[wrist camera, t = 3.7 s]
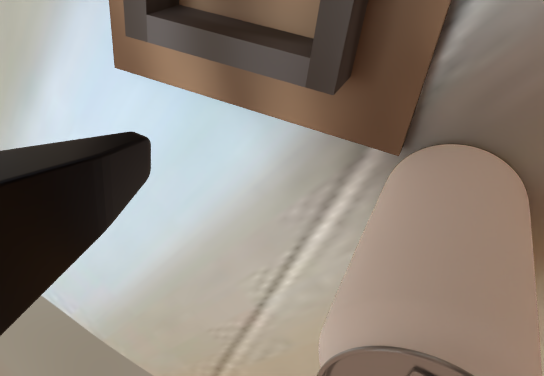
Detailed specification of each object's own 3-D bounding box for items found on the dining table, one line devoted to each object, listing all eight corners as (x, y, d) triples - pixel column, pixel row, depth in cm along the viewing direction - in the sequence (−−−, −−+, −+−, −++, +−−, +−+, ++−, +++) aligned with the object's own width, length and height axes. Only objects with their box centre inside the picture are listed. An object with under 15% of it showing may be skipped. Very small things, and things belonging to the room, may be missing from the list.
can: (365, 218, 24) (277, 414, 15) (418, 116, 20) (343, 296, 11) (481, 275, 23) (463, 526, 14) (562, 178, 19) (613, 438, 10)
